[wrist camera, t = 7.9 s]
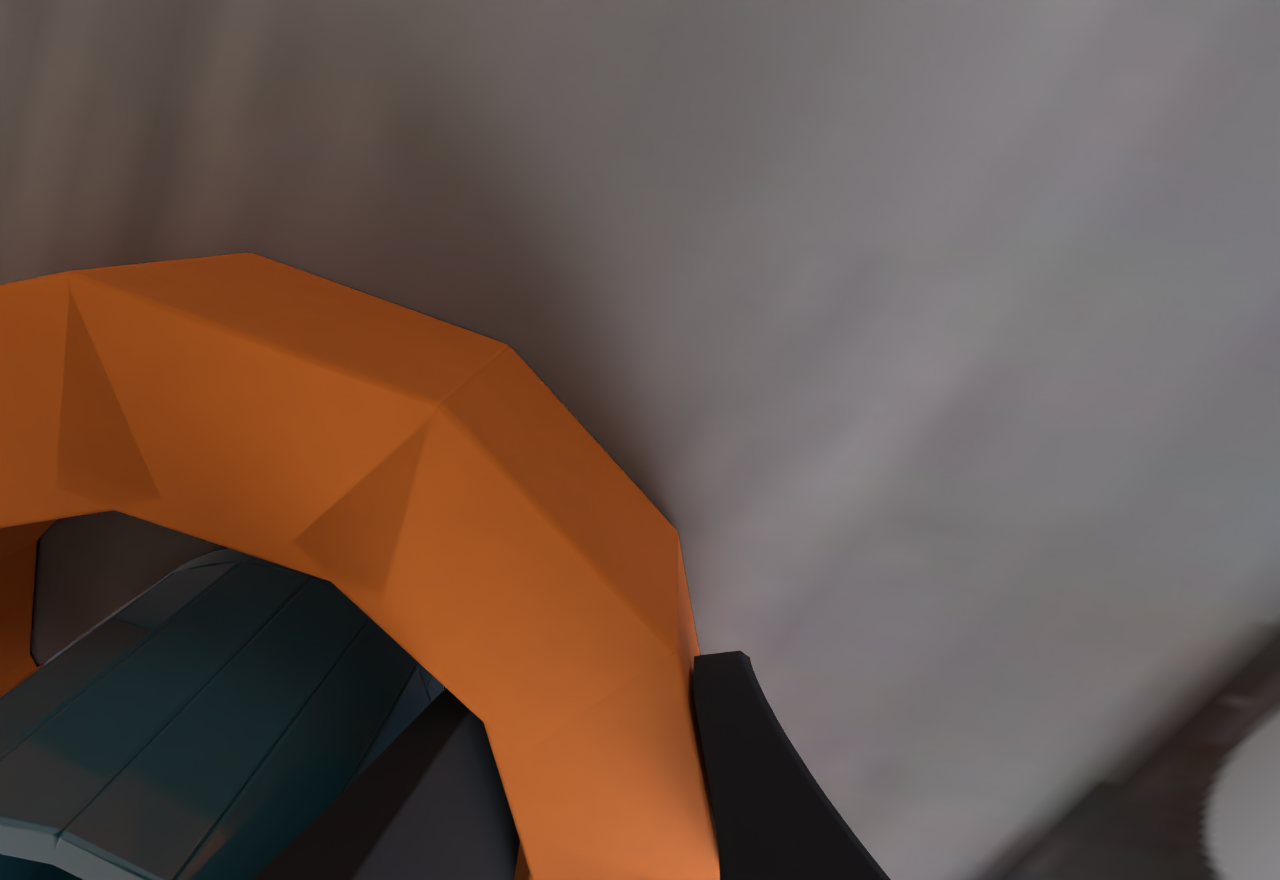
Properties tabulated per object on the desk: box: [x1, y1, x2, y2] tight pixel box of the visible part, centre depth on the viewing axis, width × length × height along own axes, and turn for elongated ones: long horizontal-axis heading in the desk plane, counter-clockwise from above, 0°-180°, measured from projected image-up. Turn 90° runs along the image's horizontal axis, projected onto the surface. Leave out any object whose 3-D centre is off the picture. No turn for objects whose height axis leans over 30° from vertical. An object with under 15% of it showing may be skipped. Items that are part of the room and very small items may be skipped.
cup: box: [0, 548, 444, 880], centre depth 9 cm, size 5×5×5 cm
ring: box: [0, 253, 720, 880], centre depth 10 cm, size 14×14×3 cm
